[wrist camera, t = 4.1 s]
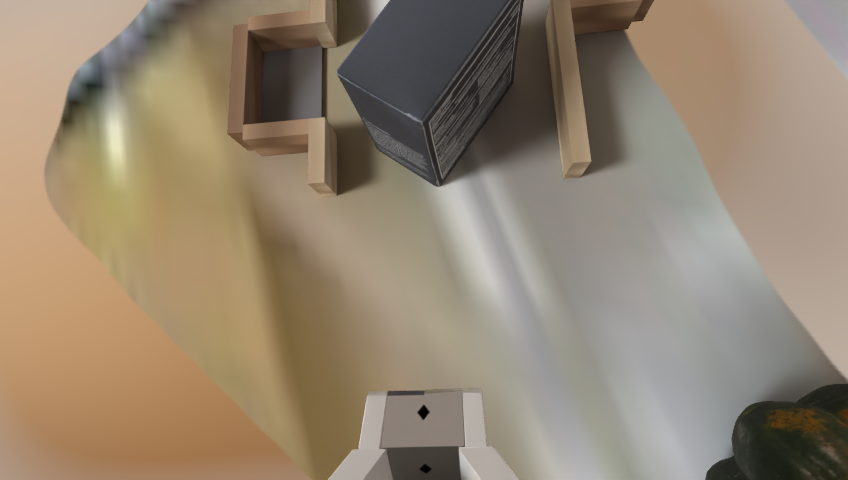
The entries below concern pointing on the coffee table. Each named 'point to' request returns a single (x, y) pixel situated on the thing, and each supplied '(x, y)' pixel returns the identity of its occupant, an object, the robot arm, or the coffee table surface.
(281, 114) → the trap lane
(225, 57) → the coffee table surface
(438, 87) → the small box
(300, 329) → the coffee table surface
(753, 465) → the squash
